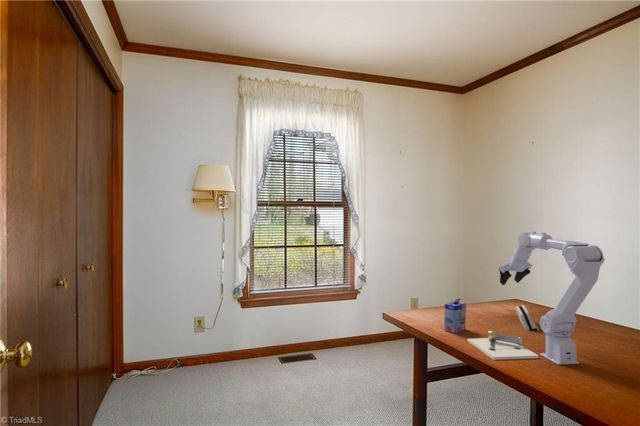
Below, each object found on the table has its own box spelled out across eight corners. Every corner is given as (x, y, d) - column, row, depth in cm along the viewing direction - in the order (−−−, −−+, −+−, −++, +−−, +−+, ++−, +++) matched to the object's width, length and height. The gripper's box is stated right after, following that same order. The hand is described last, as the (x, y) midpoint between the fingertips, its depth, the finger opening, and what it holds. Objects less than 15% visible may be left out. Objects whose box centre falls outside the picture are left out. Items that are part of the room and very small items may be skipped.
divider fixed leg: (490, 341, 149) (490, 338, 149) (494, 342, 149) (494, 339, 149) (489, 349, 140) (489, 346, 140) (493, 350, 140) (493, 347, 140)
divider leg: (487, 340, 149) (487, 331, 149) (489, 338, 152) (489, 329, 152) (521, 346, 142) (521, 337, 142) (522, 344, 144) (522, 335, 144)
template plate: (538, 358, 134) (538, 353, 134) (493, 359, 133) (493, 355, 133) (507, 339, 154) (506, 335, 154) (467, 341, 153) (467, 337, 153)
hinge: (539, 331, 165) (530, 309, 166) (528, 333, 167) (519, 312, 168) (531, 320, 181) (523, 301, 182) (521, 323, 182) (513, 303, 184)
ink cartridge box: (455, 333, 163) (454, 300, 163) (443, 330, 167) (443, 298, 167) (466, 329, 169) (466, 297, 169) (455, 326, 173) (455, 295, 173)
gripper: (527, 249, 157) (516, 274, 164) (499, 253, 153) (489, 278, 160) (540, 259, 151) (527, 284, 158) (511, 264, 147) (500, 289, 154)
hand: (509, 282), depth 159 cm, fingers open, 7 cm apart
